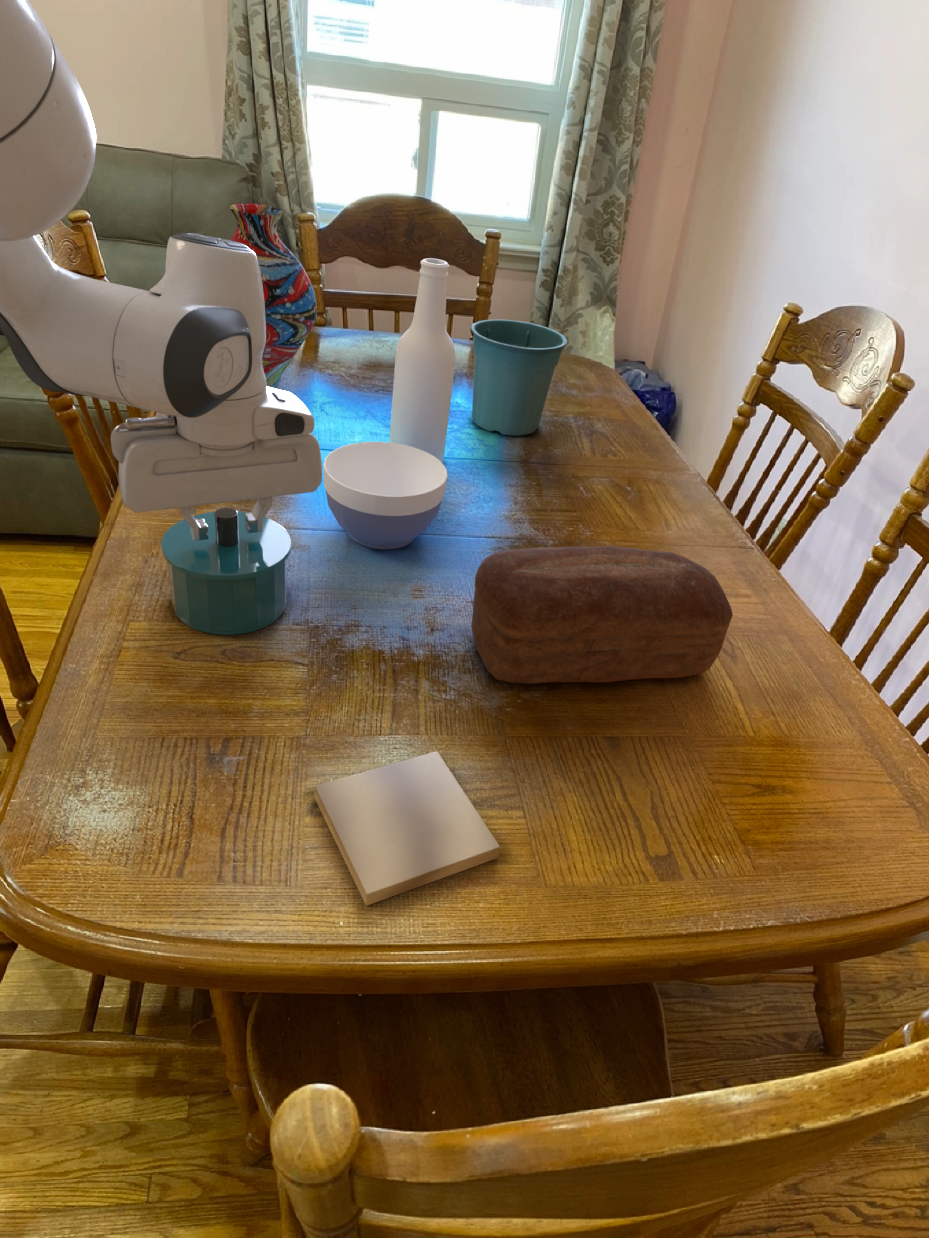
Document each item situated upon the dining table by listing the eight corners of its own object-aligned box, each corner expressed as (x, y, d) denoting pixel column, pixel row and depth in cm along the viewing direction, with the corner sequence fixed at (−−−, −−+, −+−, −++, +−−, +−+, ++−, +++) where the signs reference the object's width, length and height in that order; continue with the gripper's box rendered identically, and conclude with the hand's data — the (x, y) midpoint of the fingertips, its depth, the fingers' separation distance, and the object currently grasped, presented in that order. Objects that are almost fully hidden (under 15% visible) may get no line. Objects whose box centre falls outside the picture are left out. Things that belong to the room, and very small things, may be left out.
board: (365, 906, 64) (367, 894, 63) (313, 797, 72) (314, 785, 71) (498, 858, 69) (500, 846, 68) (435, 761, 78) (437, 750, 77)
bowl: (445, 513, 117) (453, 451, 112) (432, 571, 104) (440, 505, 99) (335, 496, 117) (338, 434, 112) (308, 553, 104) (310, 485, 99)
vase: (207, 374, 149) (197, 191, 132) (313, 380, 153) (317, 204, 136) (199, 415, 134) (186, 215, 117) (316, 421, 138) (321, 228, 121)
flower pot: (464, 400, 155) (475, 312, 145) (550, 413, 155) (567, 327, 145) (455, 433, 141) (466, 339, 132) (549, 448, 141) (567, 355, 132)
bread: (456, 621, 96) (469, 530, 89) (674, 616, 103) (702, 531, 96) (482, 699, 86) (500, 603, 78) (724, 688, 92) (760, 599, 85)
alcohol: (452, 470, 129) (478, 270, 112) (401, 476, 125) (420, 270, 108) (428, 447, 135) (448, 253, 118) (378, 452, 131) (392, 253, 114)
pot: (187, 644, 87) (182, 585, 83) (162, 582, 95) (156, 526, 91) (300, 622, 92) (301, 566, 88) (267, 565, 101) (266, 512, 97)
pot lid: (177, 594, 82) (174, 554, 79) (150, 528, 92) (146, 491, 89) (308, 573, 88) (308, 535, 86) (270, 513, 98) (269, 477, 95)
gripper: (113, 433, 74) (130, 563, 82) (329, 417, 83) (325, 535, 91) (102, 406, 78) (119, 532, 86) (308, 394, 87) (306, 509, 95)
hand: (226, 534), depth 89 cm, fingers open, 4 cm apart
